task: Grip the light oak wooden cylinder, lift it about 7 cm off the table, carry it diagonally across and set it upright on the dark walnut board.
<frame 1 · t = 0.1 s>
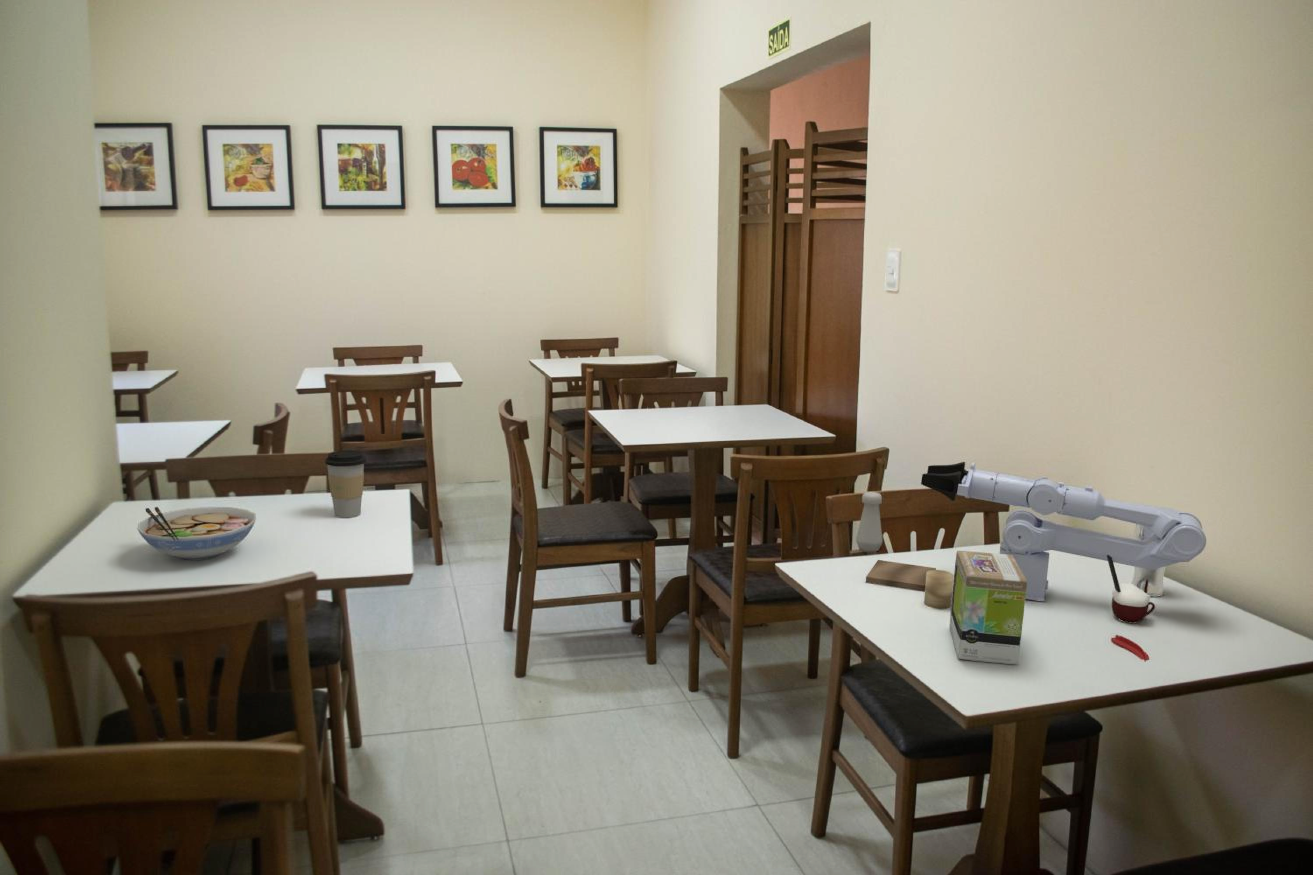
hand: (924, 474, 206), 22 cm above the table, tool horizontal, fingers open, 7 cm apart
coffee cup: (348, 515, 246), on the table
tea box: (982, 646, 176), on the table
cayenne pepper: (1128, 651, 177), on the table
beer glass: (1146, 592, 205), on the table
ramen bowl: (200, 555, 215), on the table
oak cylinder: (937, 604, 195), on the table
salt shaker: (868, 550, 228), on the table
cocoa: (1126, 619, 190), on the table
walnut board: (901, 577, 210), on the table
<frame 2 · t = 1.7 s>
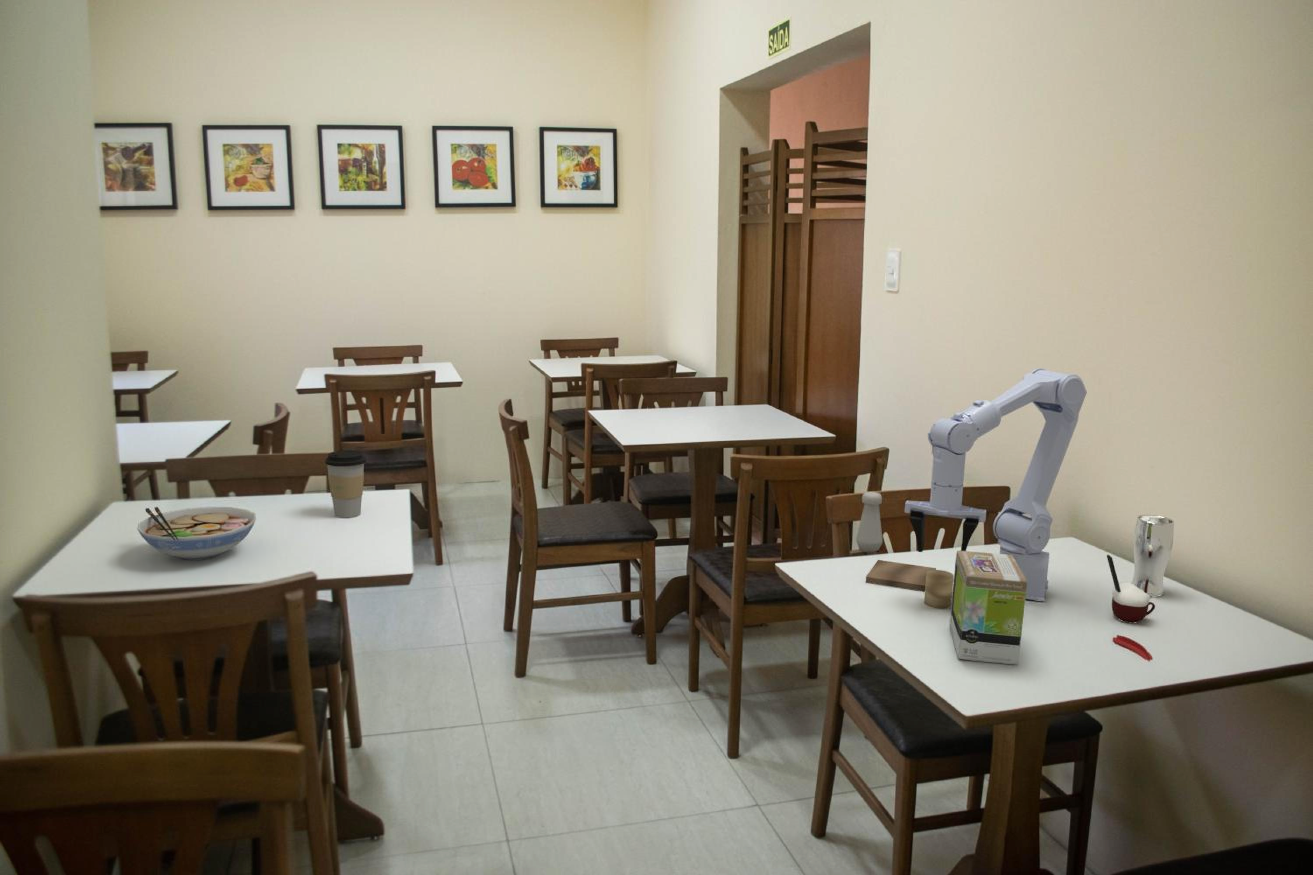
hand: (941, 553, 193), 10 cm above the table, tool pointing down, fingers open, 7 cm apart
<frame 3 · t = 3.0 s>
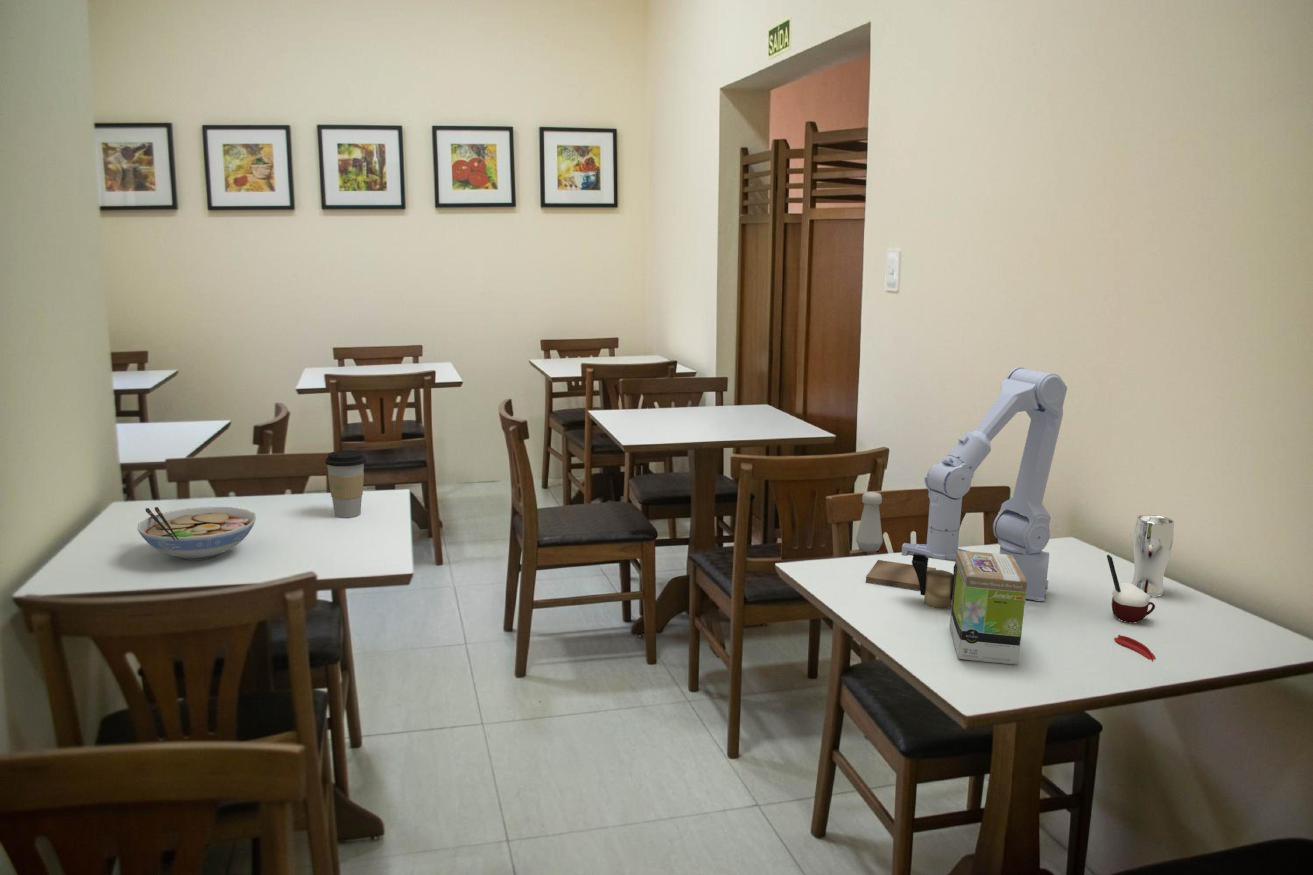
hand: (938, 595, 195), 2 cm above the table, tool pointing down, fingers closed on oak cylinder, 5 cm apart
oak cylinder: (937, 604, 195), on the table, touching gripper
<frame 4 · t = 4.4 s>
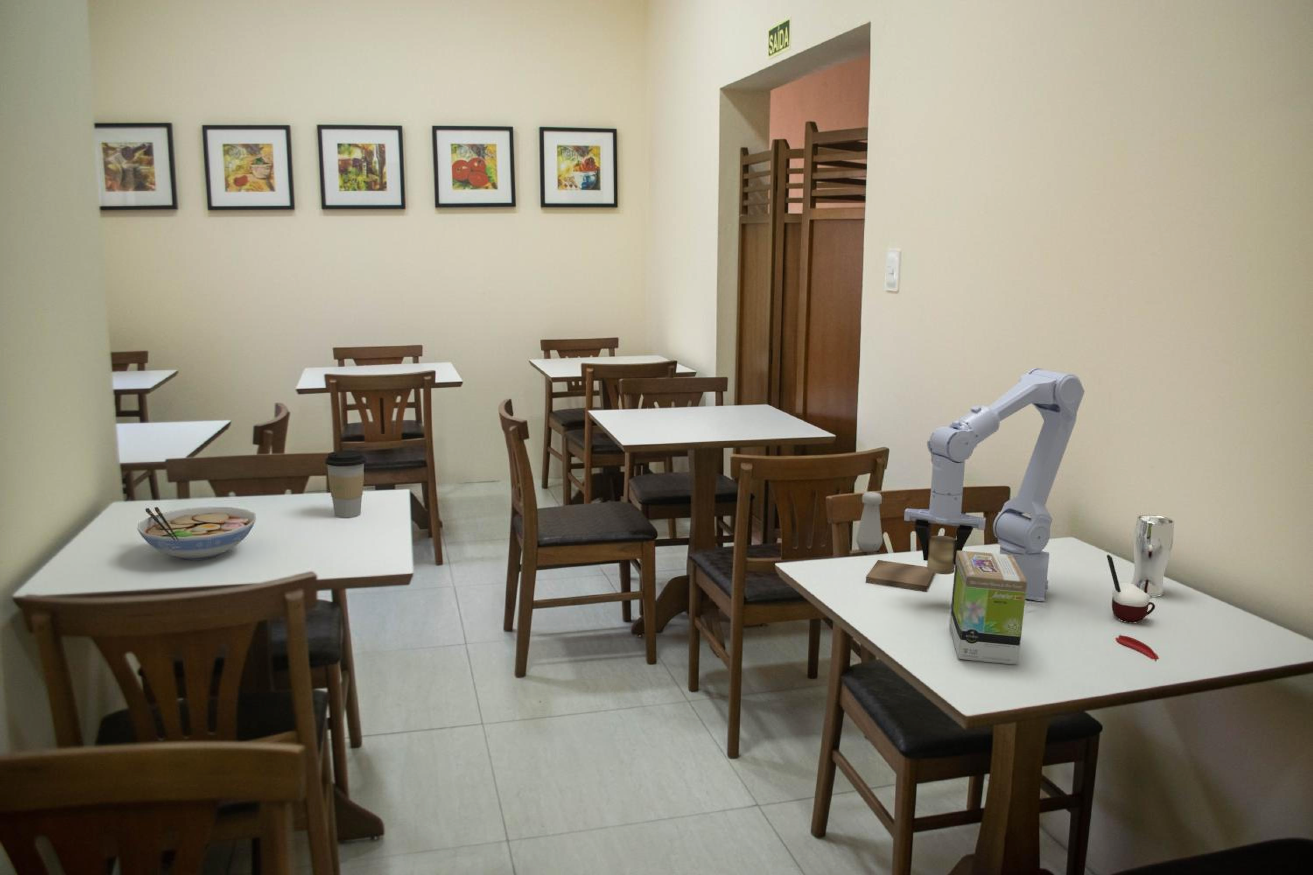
hand: (941, 561, 194), 9 cm above the table, tool pointing down, fingers closed on oak cylinder, 5 cm apart
oak cylinder: (940, 569, 194), point 7 cm above the table, touching gripper
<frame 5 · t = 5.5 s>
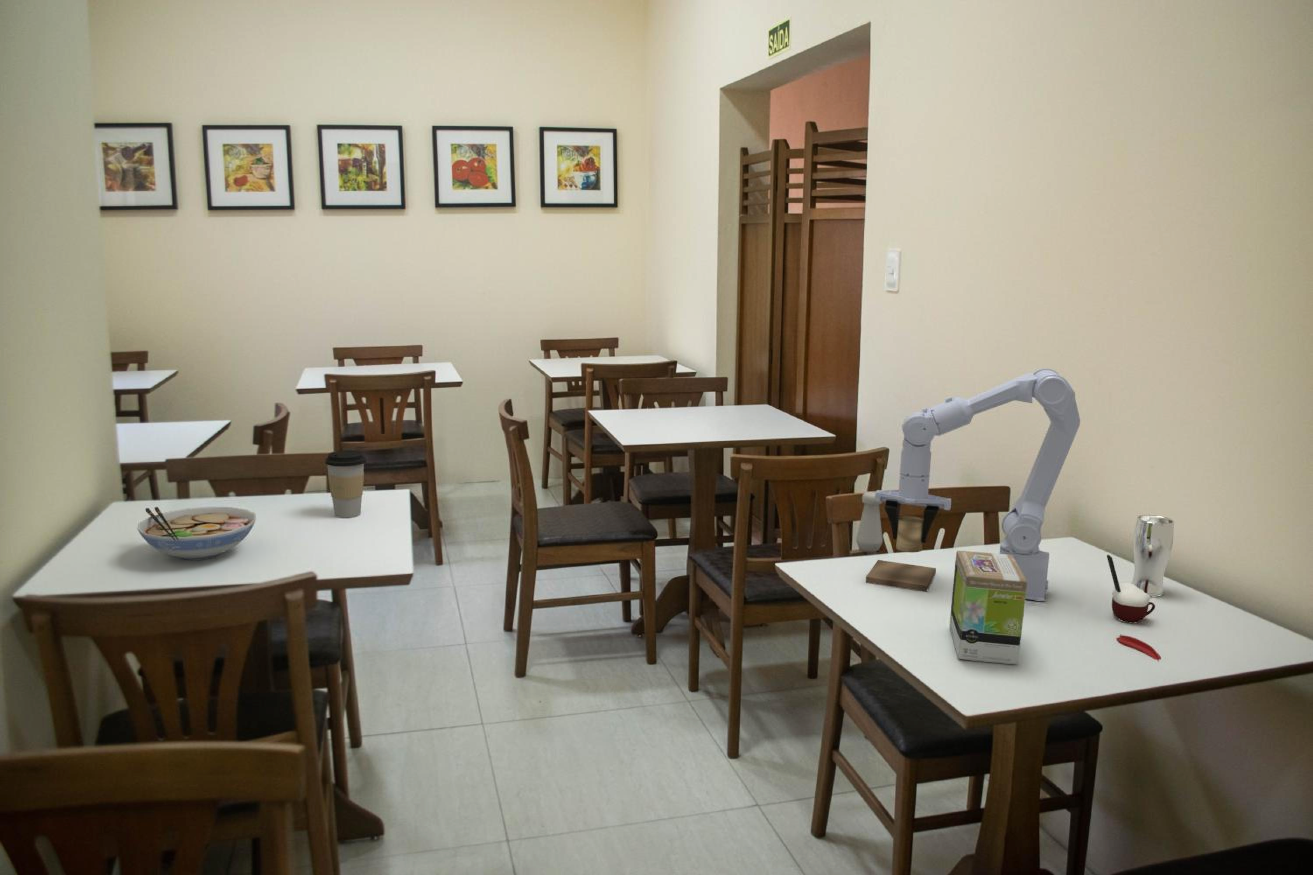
hand: (909, 539, 205), 9 cm above the table, tool pointing down, fingers closed on oak cylinder, 5 cm apart
oak cylinder: (909, 548, 205), point 7 cm above the table, touching gripper
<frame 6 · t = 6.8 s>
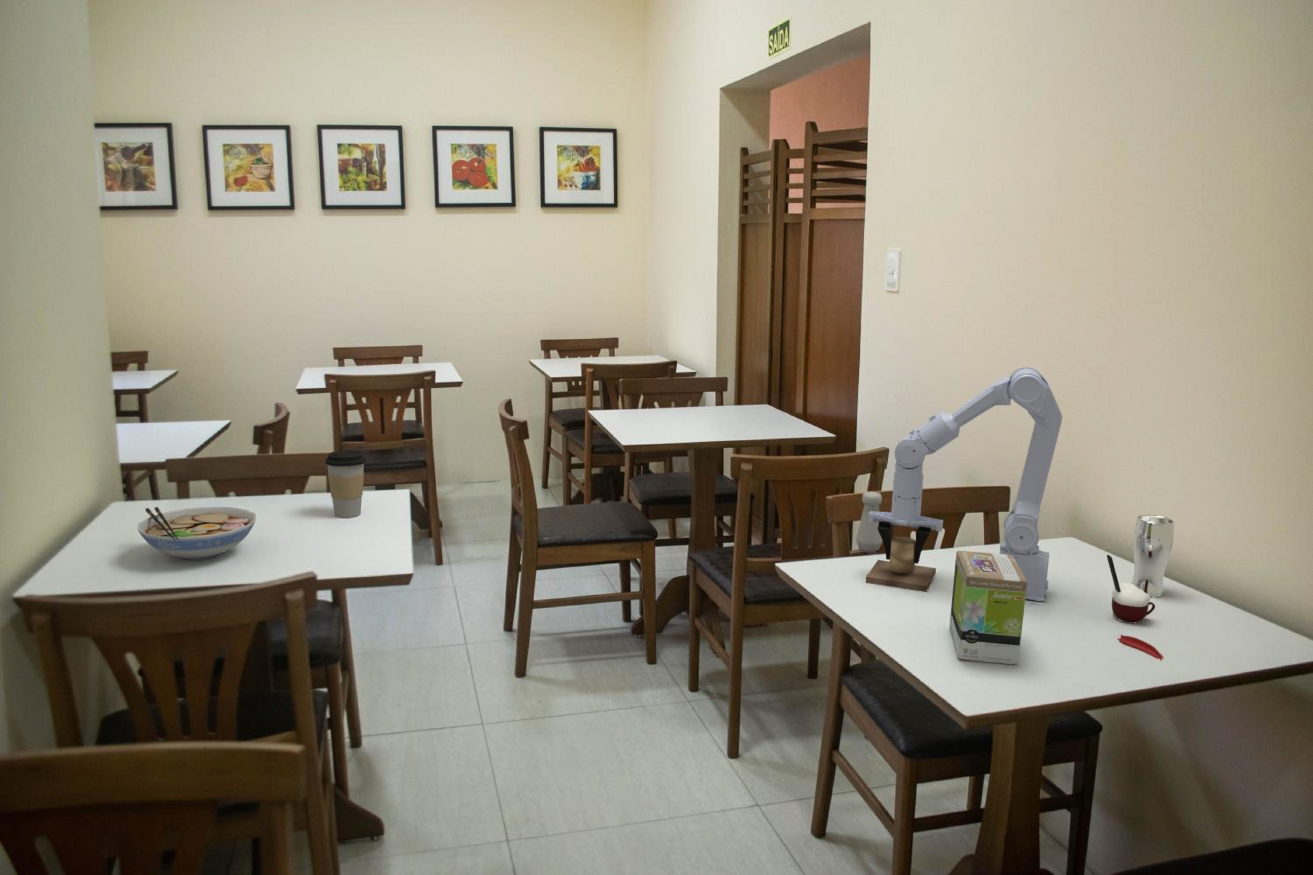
hand: (902, 560, 209), 4 cm above the table, tool pointing down, fingers closed on oak cylinder, 5 cm apart
oak cylinder: (901, 568, 209), point 2 cm above the table, touching gripper
when the fingers open (4 cm above the table, at t = 7.6 s): oak cylinder stays where it is, resting on walnut board.
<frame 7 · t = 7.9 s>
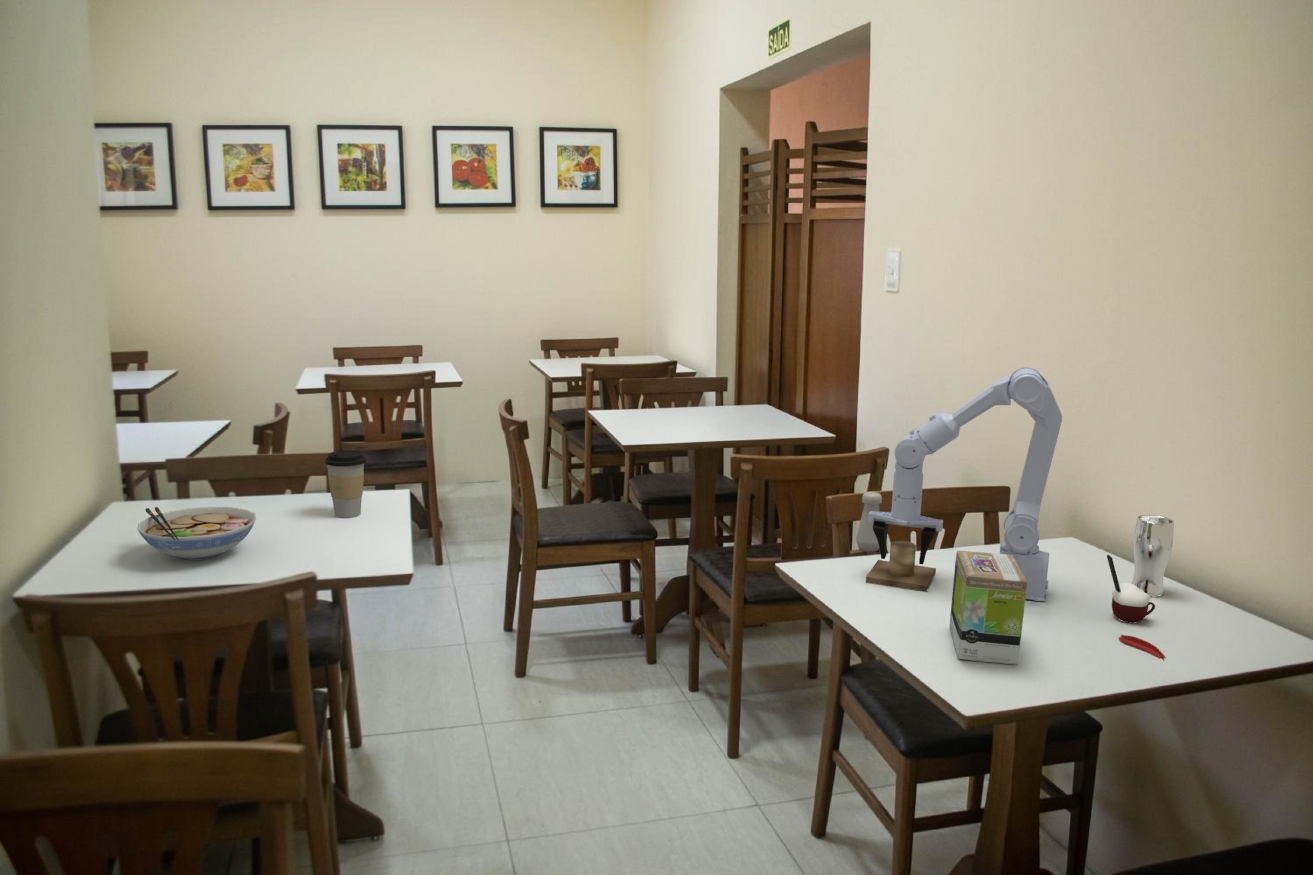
hand: (902, 560, 209), 4 cm above the table, tool pointing down, fingers open, 7 cm apart
oak cylinder: (901, 572, 209), point 1 cm above the table, touching walnut board
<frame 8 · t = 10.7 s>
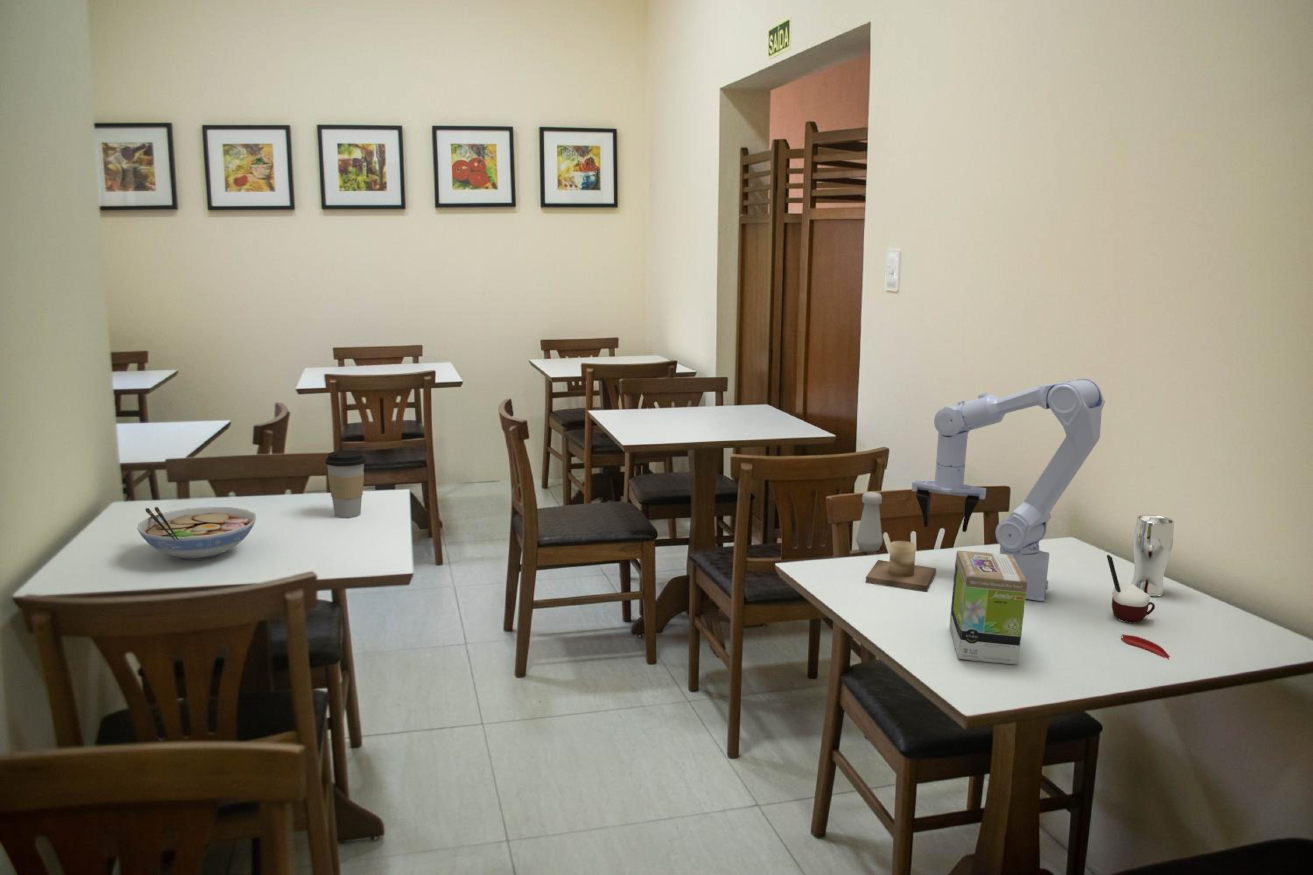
hand: (945, 528, 212), 9 cm above the table, tool pointing down, fingers open, 7 cm apart
at the end: oak cylinder inside the target area on the walnut board (0.3 cm from its centre), point 1.2 cm above the walnut board's base; oak cylinder tilted 0°; the gripper is holding nothing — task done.
